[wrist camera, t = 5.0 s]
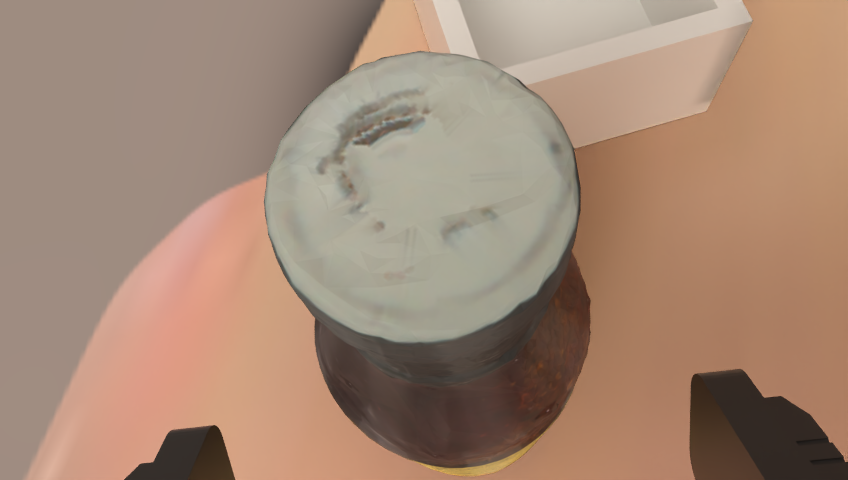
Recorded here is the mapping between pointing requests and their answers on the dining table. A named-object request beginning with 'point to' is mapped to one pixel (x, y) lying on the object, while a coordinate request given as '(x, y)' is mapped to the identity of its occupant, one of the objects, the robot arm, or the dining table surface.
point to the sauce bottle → (436, 256)
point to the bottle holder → (599, 54)
